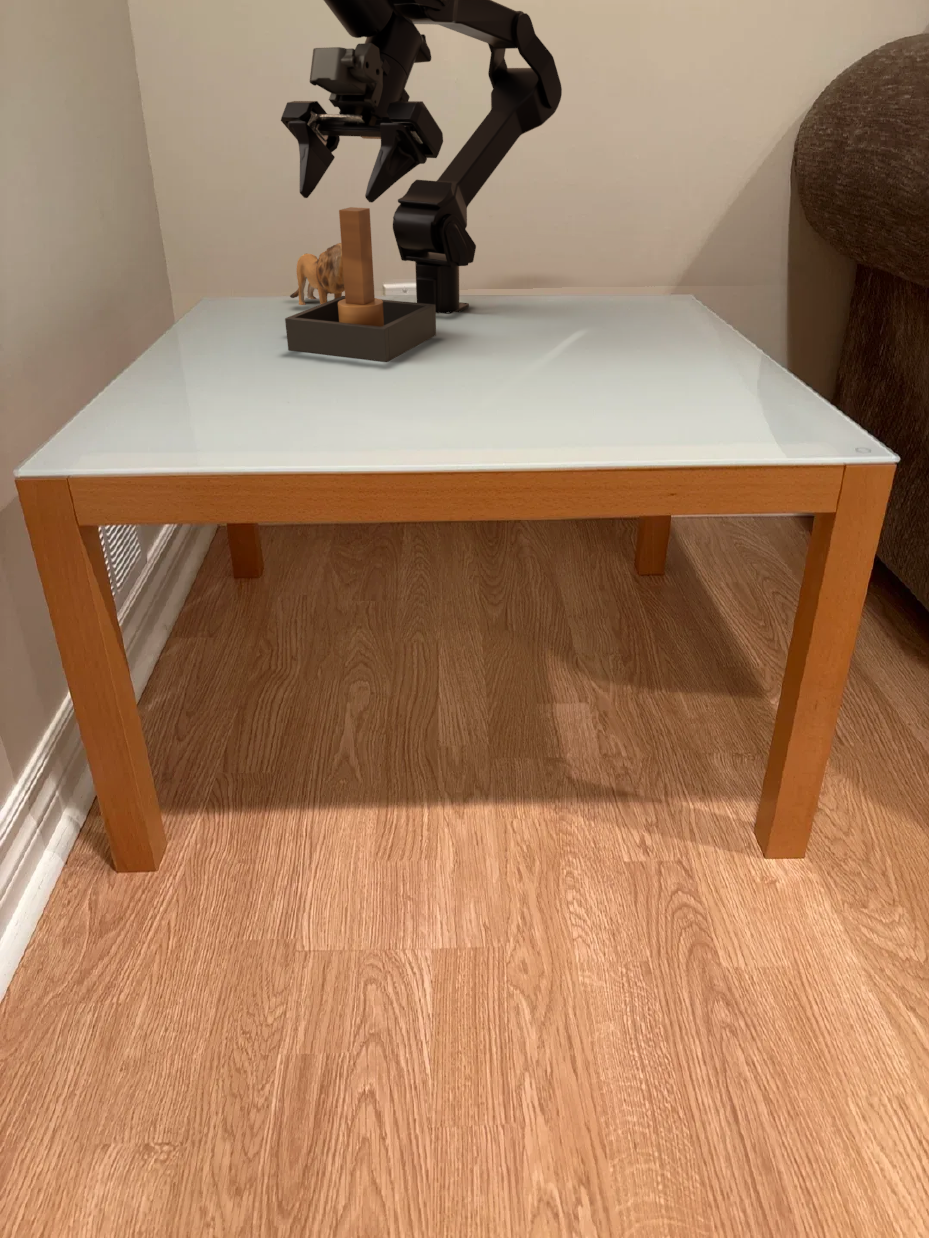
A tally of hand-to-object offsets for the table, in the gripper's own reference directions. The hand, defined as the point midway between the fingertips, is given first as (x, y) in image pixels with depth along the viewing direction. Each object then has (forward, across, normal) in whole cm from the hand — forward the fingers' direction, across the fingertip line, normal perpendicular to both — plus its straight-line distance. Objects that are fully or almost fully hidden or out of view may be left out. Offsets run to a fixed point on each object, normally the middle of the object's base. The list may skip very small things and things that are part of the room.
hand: (335, 198), depth 101 cm
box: (+12, +3, +10) cm, 16 cm away
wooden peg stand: (+13, +4, +8) cm, 16 cm away
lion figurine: (+5, -13, +19) cm, 23 cm away
